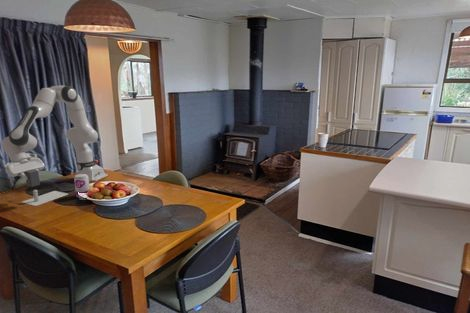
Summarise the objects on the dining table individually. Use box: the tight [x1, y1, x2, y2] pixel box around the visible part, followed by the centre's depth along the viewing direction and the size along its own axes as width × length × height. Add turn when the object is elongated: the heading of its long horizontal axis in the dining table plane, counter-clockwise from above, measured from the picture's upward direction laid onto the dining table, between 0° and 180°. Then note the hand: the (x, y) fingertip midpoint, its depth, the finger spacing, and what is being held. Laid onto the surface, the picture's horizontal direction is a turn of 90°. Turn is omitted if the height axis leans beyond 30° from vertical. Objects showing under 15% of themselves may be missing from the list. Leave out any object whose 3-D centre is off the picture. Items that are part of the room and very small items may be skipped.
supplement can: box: [73, 173, 91, 201], centre depth 208 cm, size 8×8×15 cm
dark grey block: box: [24, 170, 41, 188], centre depth 197 cm, size 5×5×9 cm
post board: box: [22, 189, 69, 207], centre depth 205 cm, size 22×14×8 cm, turn 154°
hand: (33, 177), depth 196 cm, fingers closed on dark grey block, 5 cm apart
